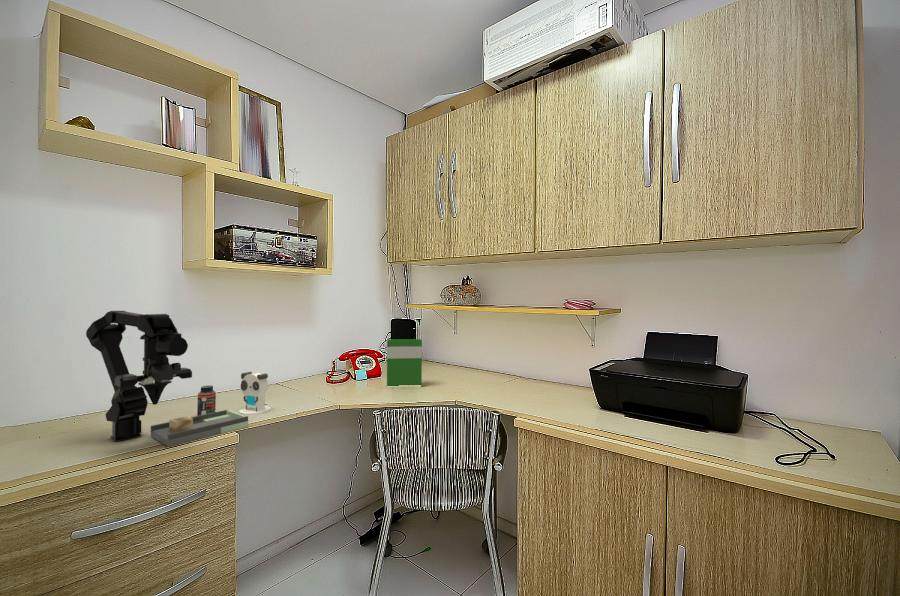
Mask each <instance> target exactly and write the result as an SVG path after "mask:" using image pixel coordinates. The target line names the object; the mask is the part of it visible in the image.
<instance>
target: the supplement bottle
mask: <svg viewBox="0 0 900 596" xmlns="http://www.w3.org/2000/svg"><path fill="white" fill-rule="evenodd" d="M216 394H217V393H216V391H215V390H214V385H201V386H200V392H198V394H197V407H196V408H197V411H196V412H197V414H196V416H199V415H204V414H209V413H214V412H216V409H217V408H216V401H217V400H216V399H217V395H216Z"/></svg>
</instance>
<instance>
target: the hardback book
mask: <svg viewBox="0 0 900 596" xmlns="http://www.w3.org/2000/svg"><path fill="white" fill-rule="evenodd" d="M422 357H423V340H422V338H415V339H414V338H411V339H410V338H409V339H408V338H407V339H406V338H405V339H404V338H403V339H400V338H399V339H387V341H386V387H387V386H399V385H423V384H422V380H423V379H422V377H423V376H422V374H423V373H422V372H423V371H422V369H423V368H422V367H423V366H422V363H423V362H422V361H423V358H422Z"/></svg>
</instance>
